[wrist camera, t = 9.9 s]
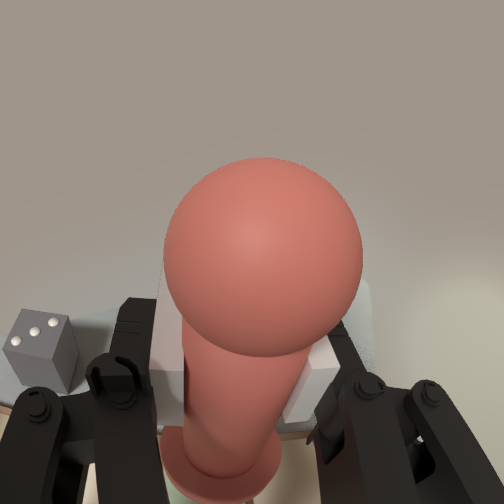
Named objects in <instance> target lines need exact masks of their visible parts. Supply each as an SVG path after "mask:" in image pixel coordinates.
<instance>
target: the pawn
mask: <svg viewBox="0 0 504 504" xmlns="http://www.w3.org/2000/svg"><path fill="white" fill-rule="evenodd" d="M362 259H363V249H362V242H361V236H360V233H359V230H358V226H357V223H356V220H355V218H354V216H353V214H352V212H351V210H350V208H349V206H348V205H347V203H346V202H345V200H344V199H343V197H342V196H341V195H340V194H339V193H338V191H337V190H336V189H335V188H334V187H333V186H332V185H331V184H330V183H329V182H328V181H326V180H325V179H324V178H322V177H321V176H319V175H318V174H317V173H315V172H313V171H311V170H309V169H307V168H306V167H303V166H301V165H299V164H296V163H293V162H290V161H285V160H280V159H274V158H254V159H246V160H241V161H237V162H233V163H230V164H228V165H226V166H223V167H221V168H218V169H217V170H215V171H213V172H212V173H210V174H209V175H207V176H205V177H204V178H203V179H202V180H200V181H199V182H198V183H197V184H196V185H195V186H193V187H192V189H191V190H190V191H189V192H188V193H187V194H186V195H185V196H184V198H183V199H182V201H181V202H180V204H179V205H178V207H177V209H176V210H175V212H174V214H173V216H172V219H171V221H170V224H169V227H168V230H167V234H166V238H165V244H164V257H163V261H164V272H165V277H166V282H167V286H168V289H169V292H170V294H171V296H172V299H173V301H174V303H175V306H176V307H177V309H178V310H179V312H180V313H181V315H182V348H183V352H184V426H164V428H163V430H162V434H161V438H160V451H161V456H162V460H163V464H164V468H165V472H166V474H167V476H168V478H169V480H170V481H171V483H172V484H173V485H174V487H175V488H176V489H177V490H178V491H179V492H180V493H182V494H183V495H184V496H186V497H187V498H189V499H191V500H193V501H195V502H197V503H200V504H243V503H245V502H248V501H249V500H251V499H253V498H254V497H256V496H257V495H258V494H260V493H261V492H262V491H263V490H264V488H265V487H266V486H267V485H268V483H269V482H270V481H271V480H272V478H273V477H274V476H275V474H276V472H277V470H278V468H279V466H280V462H281V457H282V446H281V441H280V438H279V435H278V433H277V431H276V429H275V425H276V423H277V421H278V419H279V417H280V415H281V413H282V411H283V409H284V407H285V405H286V403H287V401H288V399H289V396H290V394H291V392H292V390H293V388H294V386H295V384H296V381H297V379H298V377H299V375H300V373H301V370H302V368H303V366H304V364H305V361H306V359H307V357H308V355H309V352H310V350H311V348H312V345H313V344H314V343H316V342H317V341H319V340H320V339H322V338H323V337H324V336H326V335H327V334H328V333H329V332H330V331H331V330H332V329H333V328H334V327H335V326H336V325H337V324H338V323H339V322H340V321H341V319H342V318H343V317H344V315H345V314H346V312H347V311H348V309H349V307H350V305H351V304H352V302H353V300H354V298H355V295H356V292H357V289H358V286H359V283H360V279H361V274H362V266H363V260H362Z"/></svg>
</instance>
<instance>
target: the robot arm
mask: <svg viewBox="0 0 504 504" xmlns="http://www.w3.org/2000/svg"><path fill="white" fill-rule="evenodd" d="M348 335H349V334H348V332H347V330H346V328H344V324H343V322H342V320H341V321H340V322H339V323H338V324H337V325H336V326H335V327H334V328H333V329H332V330H331V331H330V332H329V333H328V334H327V335H326V336H324V337H323V338H322V339H320V340H319V341H317V342H316V343H314V344H313V345H312V348H311V350H310V352H309V355H308V357H307V359H306V361H305V364H304V366H303V368H302V370H301V373H300V375H299V377H298V379H297V381H296V384H295V386H294V388H293V390H292V392H291V394H290V396H289V399H288V401H287V403H286V405H285V407H284V409H283V411H282V415H283V419H284V423H293V422H303V421H308V420H309V419H310V417H311V416H312V414H313V413H314V412H315V416H316V419H317V422H318V423H317V424H316V426H315V427H314V428H313V430H312V431H311V433H310V434H309V436H308V437H307V439H306V445H309V444H310V443H311V442H312V441H313V439H314V445H315V453H316V461H317V470H318V479H319V488H320V498H321V504H504V486H503V484H502V482H501V481H500V479H499V477H498V475H497V473H496V472H495V470H494V468H493V466H492V465H491V463H490V461H489V460H488V458H487V456H486V454H485V453H484V451H483V450H482V448H481V446H480V445H479V443H478V441H477V440H476V438H475V436H474V435H473V433H472V432H471V430H470V428H469V427H468V425H467V424H466V422H465V421H464V419H463V417H462V416H461V414H460V413H459V411H458V410H457V408H456V407H455V406H454V404H453V402H452V401H451V399H450V398H449V396H448V395H447V394H446V392H445V390H444V389H443V388H442V387H441V386H440V385H439V384H437V383H435V382H434V381H430V380H421V381H419V382H417V383H416V384H415V385H414V386H413V387H412V388H411V390H408V389H400V388H393V387H388V386H386V385H385V383H384V381H383V380H382V379H380V378H379V377H378V376H377V375H375V374H373V373H371V372H367V371H366V369H365V367H364V365H363V363H362V361H361V359H360V357H359V355H358V353H357V351H356V348H355V346H354V344H353V342H352V340H351V338H350V337H349V336H348ZM85 377H86V379H87V382H88V385H89V387H90V390H89V391H87V392H84V393H80V394H75V395H68V396H60V397H59V396H58V395H57V394H56V393H55V392H54V391H53V390H51V389H49V388H47V387H40V386H36V387H32V388H28V389H27V390H25V391H24V392H22V393H21V394H20V395H19V397H18V398H17V400H16V401H15V404H14V406H13V409H12V411H11V414H10V416H9V419H8V421H7V424H6V427H5V429H4V432H3V435H2V438H1V441H0V504H83V498H84V492H85V486H86V481H87V476H88V471H89V466H90V464H92V463H95V473H96V484H97V494H98V502H99V504H170V501H169V497H168V492H167V487H166V483H165V478H164V473H163V467H162V462H161V456H160V451H159V445H158V439H157V425H165V426H184V352H183V348H182V315H181V313H180V312H179V310H178V309H177V307H176V306H175V303H174V301H173V299H172V296H171V294H170V292H169V289H168V286H167V282H166V277H165V272H164V261H163V264H162V270H161V277H160V283H159V290H158V296H157V299H144V298H131V297H129V298H128V299H127V300H126V301H125V302H124V304H123V305H122V306H121V307H120V309H119V313H118V317H117V322H116V325H115V329H114V334H113V337H112V341H111V346H110V350H109V353H104V354H102V355H100V356H98V357H96V358H95V359H94V360H93V361H92V362H91V363H90V364H89V365H88V367H87V371H86V374H85ZM419 436H421V438H422V439H423V442H420V441H418V440H417V438H418V437H419Z"/></svg>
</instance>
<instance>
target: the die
mask: <svg viewBox="0 0 504 504" xmlns="http://www.w3.org/2000/svg"><path fill="white" fill-rule="evenodd" d="M2 349H3V351H4V353H5V355H6V357H7V359H8V361H9V363H10V364H11V366H12V368H13V370H14V372H15V373H16V375H17V377H18V378H19V380H20V382H21V384H22V385H26V386H30V387H36V386H40V387H47V388H49V389H51V390H53V391H54V392H58V393H63V394H68V393H69V389H70V385H71V381H72V377H73V373H74V370H75V366H76V362H77V359H78V355H79V350H78V347H77V344H76V341H75V338H74V334H73V331H72V327H71V324H70V320H69V317H68V315H61V314H54V313H47V312H39V311H33V310H26V309H22V310H21V312H20V314H19V316H18V318H17V320H16V322H15V324H14V326H13V328H12V330H11V332H10V334H9V336H8V338H7V340H6V342H5V344H4V346H3V348H2Z"/></svg>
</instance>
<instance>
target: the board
mask: <svg viewBox="0 0 504 504" xmlns="http://www.w3.org/2000/svg"><path fill="white" fill-rule="evenodd" d="M11 411H12V409H10V408H7V407H3V406H0V441H1V438H2V435H3V432H4V429H5V427H6V424H7V421H8V419H9V416H10V414H11ZM311 431H312V430H308V431H300V432H291V433H281V434H278V435H279V438H280V441H281V446H282V457H281V462H280V466H279V468H278V470H277V472H276V474H275V476H274V477H273V478H272V480H271V481H270V482H269V483H268V485H267V486H266V487H265V488H264V490H263V491H262V492H261V493H260V494H258V495H257V496H256V497H254V498H253V499H251V500H249V501H248V502H245V503H243V504H321V498H320V488H319V479H318V470H317V461H316V453H315V445H314V439H313V441H312V442H311V443H310V444H309V445H306V439H307V437H308V436H309V434H310V433H311ZM160 438H161V435H157V439H158V445H159V451H160ZM160 456H161V451H160ZM161 462H162V467H163V473H164V478H165V483H166V487H167V492H168V497H169V501H170V504H200V503H197V502H195V501H193V500H191V499H189V498H187V497H186V496H184V495H183V494H182V493H180V492H179V491H178V490H177V489H176V488H175V487H174V485H173V484H172V483H171V481H170V480H169V478H168V476H167V474H166V472H165V468H164V464H163V460H162V456H161ZM83 504H99V502H98V494H97V484H96V473H95V463H92V464H90V466H89V471H88V476H87V481H86V486H85V492H84V498H83Z"/></svg>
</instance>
